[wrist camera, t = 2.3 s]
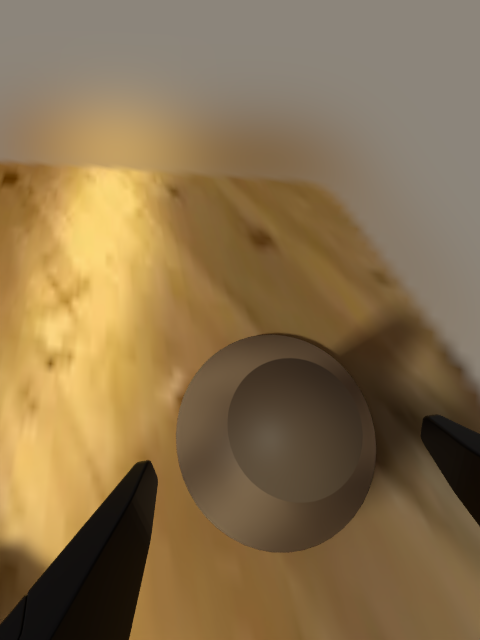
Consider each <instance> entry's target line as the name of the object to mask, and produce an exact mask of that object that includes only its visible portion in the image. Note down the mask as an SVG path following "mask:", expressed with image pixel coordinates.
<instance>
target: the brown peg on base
mask: <svg viewBox="0 0 480 640" xmlns="http://www.w3.org/2000/svg"><path fill="white" fill-rule="evenodd" d="M176 444H177V455H178V461H179V466H180V469H181V472H182V476H183V479H184V481H185V484H186V486H187V488H188V491H189V493H190V494H191V496H192V498H193V500H194V501H195V503H196V505H197V506H198V507H199V509H200V510H201V511H202V513H203V514H204V515H205V516H206V518H207V519H208V520H209V521H210V522H211V523H213V524H214V525H215V526H216V527H217V528H218V529H219V530H220V531H222V532H223V533H225V534H226V535H227V536H229V537H230V538H232V539H234V540H236V541H238V542H239V543H241V544H243V545H246V546H249V547H252V548H255V549H258V550H263V551H269V552H294V551H301V550H305V549H308V548H311V547H314V546H317V545H319V544H321V543H323V542H325V541H326V540H328V539H330V538H332V537H333V536H334V535H335V534H337V533H338V532H339V531H341V530H342V529H343V528H344V527H345V526H346V525H347V524H348V523H349V522H350V521H351V519H352V518H353V517H354V516H355V514H356V513H357V511H358V510H359V508H360V507H361V505H362V504H363V501H364V499H365V497H366V495H367V493H368V491H369V488H370V485H371V481H372V478H373V474H374V468H375V462H376V440H375V430H374V426H373V421H372V417H371V414H370V411H369V408H368V405H367V403H366V401H365V398H364V396H363V394H362V392H361V390H360V389H359V387H358V386H357V384H356V382H355V381H354V379H353V378H352V377H351V376H350V374H349V373H348V372H347V371H346V369H345V368H344V367H343V366H342V365H341V364H340V363H339V362H338V361H337V360H335V359H334V358H333V357H331V356H330V355H329V354H328V353H326V352H325V351H323V350H321V349H320V348H318V347H317V346H314V345H312V344H310V343H308V342H306V341H303V340H300V339H297V338H293V337H288V336H283V335H259V336H253V337H248V338H245V339H242V340H239V341H236V342H234V343H232V344H230V345H228V346H226V347H224V348H223V349H221V350H220V351H218V352H217V353H216V354H214V355H213V356H212V357H211V358H210V359H209V360H208V361H207V362H206V363H205V364H204V365H203V366H202V367H201V368H200V369H199V371H198V372H197V373H196V374H195V376H194V378H193V379H192V381H191V383H190V384H189V386H188V388H187V390H186V393H185V395H184V397H183V400H182V403H181V406H180V410H179V415H178V420H177V431H176Z"/></svg>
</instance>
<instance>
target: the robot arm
mask: <svg viewBox="0 0 480 640" xmlns="http://www.w3.org/2000/svg"><path fill="white" fill-rule="evenodd" d="M421 439H422V441H423V443H424V445H425V447H426V448H427V450H428V451H429V453H430V455H431V456H432V458H433V459H434V461H435V463H436V464H437V466H438V467H439V469H440V470H441V472H442V474H443V475H444V477H445V478H446V480H447V482H448V483H449V485H450V486H451V488H452V489H453V491H454V492H455V494H456V495H457V496H458V498H459V499H460V501H461V502H462V503H463V505H464V506H465V507H466V509H467V510H468V511H469V513H470V514H471V515H472V517H473V518H474V519H475V521H476V522H477V523H478V525H479V526H480V434H478V433H476V432H474V431H472V430H470V429H468V428H466V427H464V426H462V425H460V424H457V423H455V422H453V421H451V420H449V419H447V418H445V417H443V416H441V415H429V416H425V417H424V418H423V423H422V429H421ZM157 486H158V479H157V475H156V473H155V470H154V468H153V465H152V463H151V461H149V460H146V461H140V462H137V463H136V464H135V465H134V466H133V467H132V468H131V470H130V471H129V472H128V473H127V474H126V476H125V477H124V478H123V479H122V480H121V482H120V483H119V484H118V485H117V486H116V488H115V489H114V490H113V491H112V492H111V493H110V495H109V496H108V497H107V498H106V499H105V501H104V502H103V503H102V504H101V505H100V507H99V508H98V509H97V510H96V511H95V513H94V514H93V515H92V516H91V517H90V518H89V520H88V521H87V522H86V523H85V524H84V526H83V527H82V528H81V529H80V530H79V532H78V533H77V534H76V535H75V536H74V538H73V539H72V540H71V541H70V542H69V543H68V545H67V546H66V547H65V548H64V549H63V551H62V552H61V553H60V554H59V555H58V557H57V558H56V559H55V560H54V561H53V563H52V564H51V565H50V566H49V567H48V568H47V570H46V571H45V572H44V573H43V574H42V576H41V577H40V578H39V579H38V580H37V582H36V583H35V584H34V585H33V586H32V588H31V589H30V590H29V591H28V595H25V596H24V597H23V598H22V599H21V600H20V602H19V603H18V604H17V605H16V606H15V608H14V609H13V610H12V611H11V612H10V614H9V615H8V616H7V617H6V618H5V619H4V621H3V622H2V623H1V624H0V640H129V637H130V632H131V628H132V623H133V618H134V614H135V609H136V605H137V600H138V596H139V591H140V586H141V582H142V577H143V573H144V568H145V564H146V559H147V555H148V550H149V545H150V540H151V533H152V526H153V518H154V510H155V502H156V494H157Z"/></svg>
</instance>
